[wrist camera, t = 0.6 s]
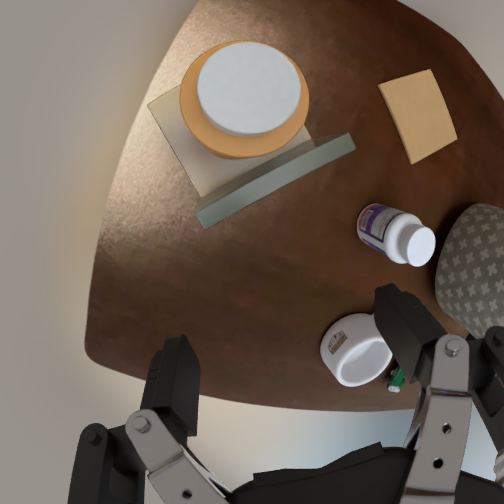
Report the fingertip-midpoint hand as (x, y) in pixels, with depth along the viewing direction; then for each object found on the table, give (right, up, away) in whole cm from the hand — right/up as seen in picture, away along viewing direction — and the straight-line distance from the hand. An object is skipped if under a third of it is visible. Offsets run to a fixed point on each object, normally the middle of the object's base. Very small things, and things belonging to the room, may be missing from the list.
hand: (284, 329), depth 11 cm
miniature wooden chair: (-4, +15, +16) cm, 22 cm away
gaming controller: (+25, -17, +31) cm, 43 cm away
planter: (+34, +3, +25) cm, 42 cm away
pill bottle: (+14, +7, +21) cm, 26 cm away
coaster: (+21, +22, +17) cm, 35 cm away
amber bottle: (-3, +12, +7) cm, 14 cm away
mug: (+14, -9, +27) cm, 31 cm away
